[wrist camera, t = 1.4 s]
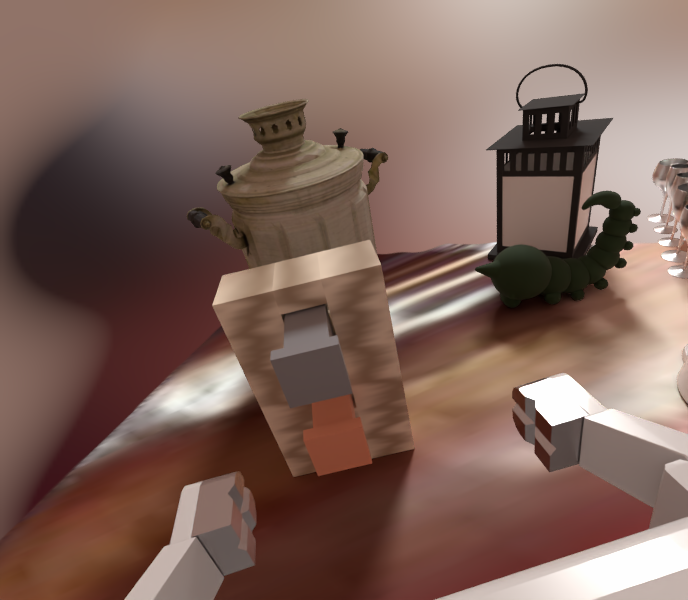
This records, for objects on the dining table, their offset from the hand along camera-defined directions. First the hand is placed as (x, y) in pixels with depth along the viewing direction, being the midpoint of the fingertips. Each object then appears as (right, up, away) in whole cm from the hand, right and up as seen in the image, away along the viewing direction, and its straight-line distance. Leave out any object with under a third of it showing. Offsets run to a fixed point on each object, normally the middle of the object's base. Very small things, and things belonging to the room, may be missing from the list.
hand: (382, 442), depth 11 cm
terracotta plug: (-1, -11, +32) cm, 33 cm away
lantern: (+42, +16, +74) cm, 87 cm away
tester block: (0, -15, +41) cm, 44 cm away
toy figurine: (+35, +5, +59) cm, 69 cm away
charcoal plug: (-4, -2, +26) cm, 27 cm away
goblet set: (+63, +15, +65) cm, 92 cm away
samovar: (-3, -4, +61) cm, 61 cm away
